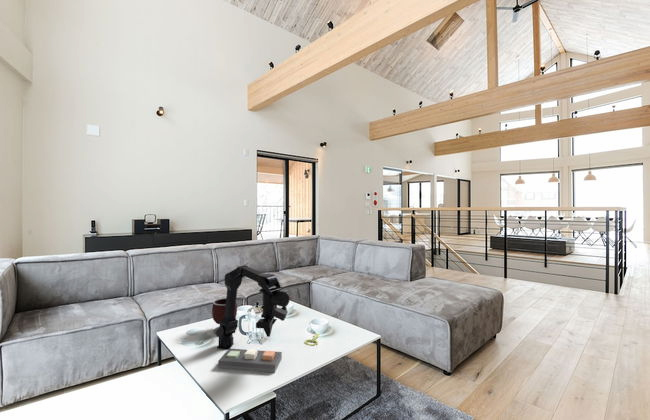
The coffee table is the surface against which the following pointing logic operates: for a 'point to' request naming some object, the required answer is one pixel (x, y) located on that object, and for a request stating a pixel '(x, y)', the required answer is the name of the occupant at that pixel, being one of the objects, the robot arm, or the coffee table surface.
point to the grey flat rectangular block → (250, 362)
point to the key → (312, 340)
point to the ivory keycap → (251, 354)
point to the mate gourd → (219, 311)
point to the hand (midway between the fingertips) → (268, 336)
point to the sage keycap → (233, 354)
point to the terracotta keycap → (269, 355)
